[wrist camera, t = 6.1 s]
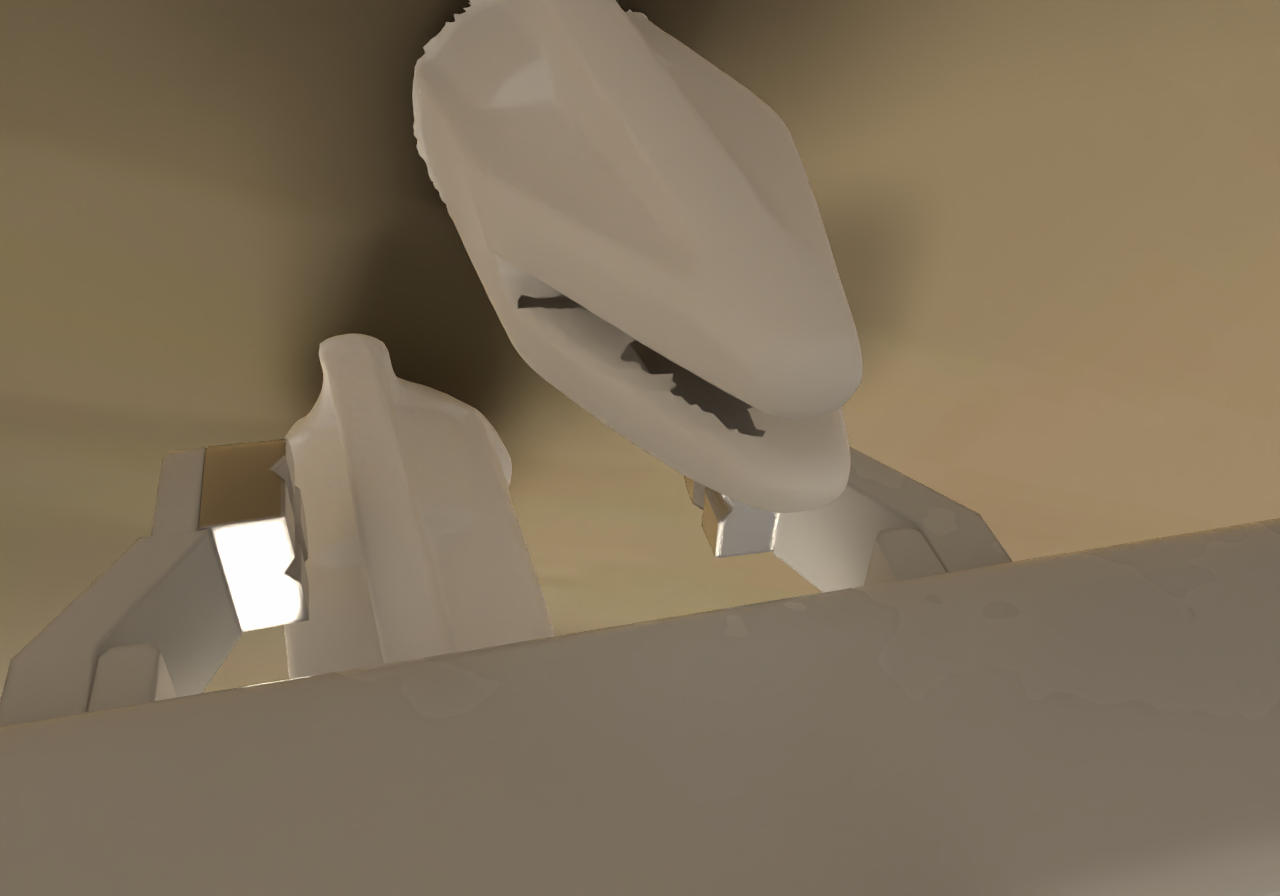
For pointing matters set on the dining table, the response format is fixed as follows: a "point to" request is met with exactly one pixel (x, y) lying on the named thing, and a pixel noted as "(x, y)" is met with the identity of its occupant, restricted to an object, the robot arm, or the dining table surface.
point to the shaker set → (576, 322)
